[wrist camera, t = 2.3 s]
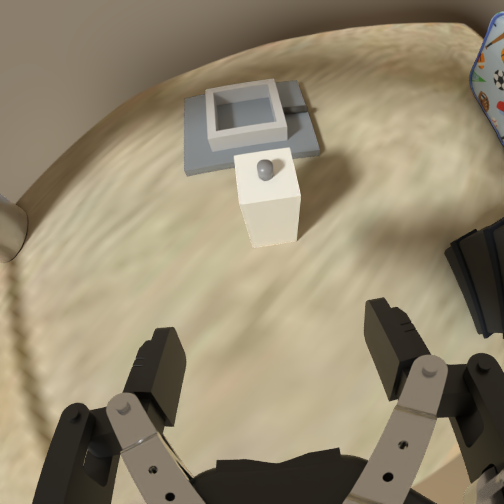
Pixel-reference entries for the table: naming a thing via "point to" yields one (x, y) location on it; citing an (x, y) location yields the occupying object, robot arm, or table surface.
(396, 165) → the table surface
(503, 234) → the magazine
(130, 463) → the robot arm
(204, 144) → the charging dock
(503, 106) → the lunch box
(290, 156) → the block
